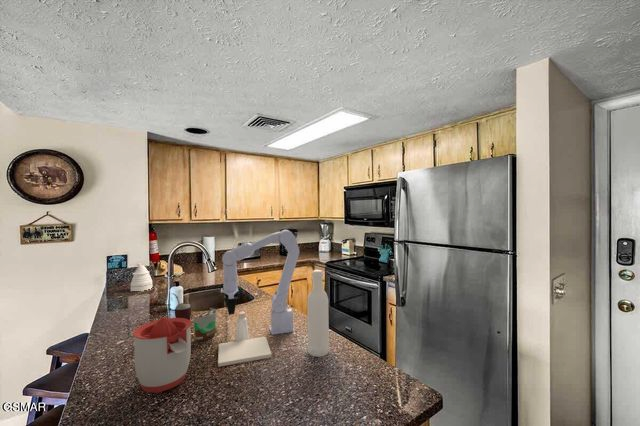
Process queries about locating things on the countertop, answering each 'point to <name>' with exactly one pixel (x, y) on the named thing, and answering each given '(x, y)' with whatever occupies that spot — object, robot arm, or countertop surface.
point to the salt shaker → (242, 327)
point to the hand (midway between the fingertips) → (231, 311)
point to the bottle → (318, 318)
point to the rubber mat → (243, 351)
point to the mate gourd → (182, 310)
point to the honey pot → (141, 279)
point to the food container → (205, 325)
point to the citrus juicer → (162, 353)
